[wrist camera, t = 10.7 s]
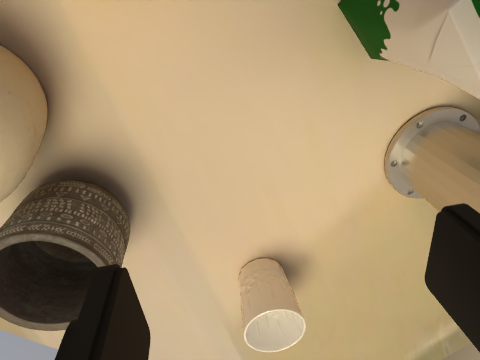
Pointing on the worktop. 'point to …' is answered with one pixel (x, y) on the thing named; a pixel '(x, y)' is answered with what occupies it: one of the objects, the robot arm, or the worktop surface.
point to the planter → (57, 252)
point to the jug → (18, 120)
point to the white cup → (269, 307)
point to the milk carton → (422, 36)
